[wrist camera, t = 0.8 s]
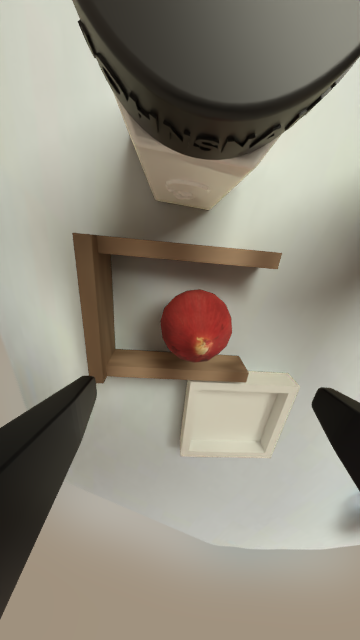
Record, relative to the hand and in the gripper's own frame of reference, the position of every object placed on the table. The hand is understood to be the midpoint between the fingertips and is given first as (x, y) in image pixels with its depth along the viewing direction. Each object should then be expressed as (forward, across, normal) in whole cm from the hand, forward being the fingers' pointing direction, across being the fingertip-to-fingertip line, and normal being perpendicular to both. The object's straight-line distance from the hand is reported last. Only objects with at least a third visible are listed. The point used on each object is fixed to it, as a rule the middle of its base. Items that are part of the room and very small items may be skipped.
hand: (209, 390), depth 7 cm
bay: (+12, +1, +1) cm, 12 cm away
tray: (+12, -7, +14) cm, 20 cm away
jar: (+12, +1, -12) cm, 17 cm away
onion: (+12, 0, +1) cm, 12 cm away
